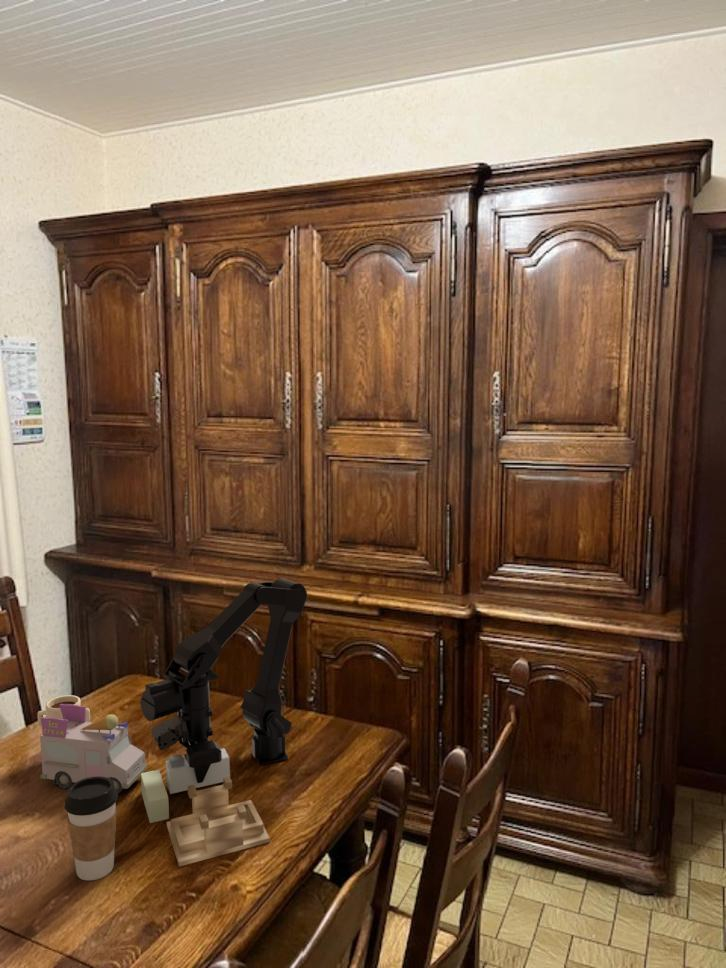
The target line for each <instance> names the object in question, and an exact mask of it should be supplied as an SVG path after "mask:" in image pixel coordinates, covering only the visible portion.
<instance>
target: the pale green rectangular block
mask: <svg viewBox="0 0 726 968" xmlns="http://www.w3.org/2000/svg"><path fill="white" fill-rule="evenodd" d="M140 785H141V787H140V788H141V795H142V799H143V803H144V807H145V810H146V815H147V817H148V820H149V824H152V823H157V822H161V821H165V820H169V819H170V812H169V811H170V810H169V808H170V807H169V795H168V793H167V789H166V785H165V784H164V780H163V778H162V774H161V772H160V770H159V769H156V770H155V769H154V770H150V771H144V772H143V773H141V775H140Z"/></svg>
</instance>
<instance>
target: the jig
mask: <svg viewBox="0 0 726 968" xmlns="http://www.w3.org/2000/svg"><path fill="white" fill-rule="evenodd" d="M231 789H233V781H232V779H231V776H230V777H224V778H223V782H222V784H221V785H215V786H212V787H207V788H204V789H199V790H197V788H195V786H194V785H189V786H188V790H187V794H188V797H189V799H191V803H192V804H191V805H192V813H191V814H187V815H182V816H180V817H179V816H178V817H174V818H171V819H170V821H166V828H167V831H168V835H169V837H170V838H169V839H170V841H171V844H172V848H173V851H174V854H175V857H176V861H177V865H178V867H183V866H186V865H190V864H194V863H197V862H201V861H205V860H208V859H211V858H216V857H220V856H224V855H227V854H231V853H235V852H239V851H241V850H245V849H249V848H253V847H254V848H255V847H257V846H260V845H263V844H265V845H266V844H268V843H270V842H271V838H270V836H269V834H268V832H267V830H266V827H265V826H264V825H265V824H264V823H263V822H264V821H263V820H262V818H261V816H260V815H259V814H260V813H258V811H257V809H256V807H255V805H254V802H253V800H251V799H249V800H245V801H241V802H237V803H232V804H229V803H230V802H229V801H230V800H229V790H231Z"/></svg>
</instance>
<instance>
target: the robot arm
mask: <svg viewBox="0 0 726 968" xmlns="http://www.w3.org/2000/svg"><path fill="white" fill-rule="evenodd" d="M307 598H308V591H307V589H306V588H305V586H304V585H303V584H302V583H299V582H295V581H292V580H289V579H285V578H277V579H275V580H274V581H262V582H250V583H247V584H245V586H244V587H243V589H242V591H241V592H240V593H239V594H238V595H237V596H236V597H235V598H234V599H233V600H232V601H231V602H230V603H229V604H228V605H227V606H226V607H225V608H224V609H223V610H222V611H221V612H220V613H219V614H218V615H217V616H216V617H215V618H214V619H213V621H211V622H210V624H209V625H207V626H205V628H203V629H202V630H200V631H198V632H195V633H193V634H191V635H189V636H188V637H187V638H185V639H184V640H182V641H181V642H180V643H179V644H177V646H176V647H175V649H174V652H173V654H174V655H173V656H172V659H171V660H170V662H169V664H168V665H167V667H166V669H165V671H164V673H163V675H162V677H164V678H165V679H163V680H160V681H156V682H151V683H147V684H146V685H145V686H144V688H145V691H143V692H142V694H141V696H140V697H141V698H140V701H139V702H140V708H141V710H142V711H141V712H142V714H143V716H144V717H145V719H146V720H147V721H149V722H152V721H155V720H158V719H161V718H164V717H166V716H170V715H172V714H176V713H177V714H176V715H175V716H173V717H170V718H168V719H165V720H163V721H162V722H160V723H158V724H156V725H154V726H153V727H152V728H151V729H150V732H151V734H152V735H151V736H152V738H153V740H154V741H155V744H156V745H157V748H158V750H159V751H165V750H167V749H169V748H170V747H173V746H174V745H176V744H177V743H179V744H180V745H182V746H183V747H184V748H185V753H184V754H183V755H184V756H183V757H185V758H186V760H187V762H188V765H189V767H191V768H194V772H195V776H196V780H197V783H202V782H203V781H204V778H205V776H206V774H207V772H208V769H209V767H210V765H211V764H213V763H218V762H220V761H221V760H222V751H221V749H222V748H220V745H219V744H218V742H216V741H214V740H213V739H212V740H208V739H209V737H211V736H214V731H213V728H212V726H211V717H212V716H213V711H212V709H211V707H210V705H211V704H210V683H209V682H211V681H214V680H217V679H219V677H220V675H218V674H217V673H215V672H214V671H213V670H212V667H213V666H214V664H215V663H216V661H217V660H218V659H219V657H220V654H221V651H222V647H223V646H224V645H225V644H226V643H227V641H229V639H230V638H232V636H233V635H234V634H235V633H236V632H237V631H238V630H239V629H240V628H241V627H242V626H243V625H244V623H246V621H247V620H248V619H249V618H250V617H251V616H253V614H254V613H255V612H256V611H257V610H258V609H259V608H260V607H261V605H267V608H268V614H269V617H270V620H269V624H268V625H269V626H268V629H267V632H266V633H267V635H266V639H265V643H264V647H263V653H262V656H261V662H260V666H259V671H258V674H257V679H256V683H255V685H254V686H253V687H252V688H251V689H249V690H248V689H245V690H244V693H243V700H242V703H241V706H240V709H241V715H242V717H243V719H244V720H245V722H247V723H248V725H249V727H250V728H253V736H251V754H252V756H253V759H255V760H256V762H257V763H258V765H260V766H263V765H268V764H272V763H276V762H282V761H286V760H288V759H289V756H288V754H287V752H286V735H287V734H289V733H290V731H291V727H292V722H291V721H289V720H288V718H285V717H284V716H283V715H282V708H283V700H282V697H281V692H280V684H281V683H280V682H281V679H282V676H283V675H282V674H283V670H284V665H285V660H286V656H287V651H288V646H289V642H290V638H291V633H292V627H293V624H294V622H296V620H297V619H298V618H299V616H300V615H301V614H302V612H303V609H304V606H305V604H306V601H307ZM180 670H183V671H184V672H186V673H187V674H186V675H185V674H183V673H182V672H180Z"/></svg>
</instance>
